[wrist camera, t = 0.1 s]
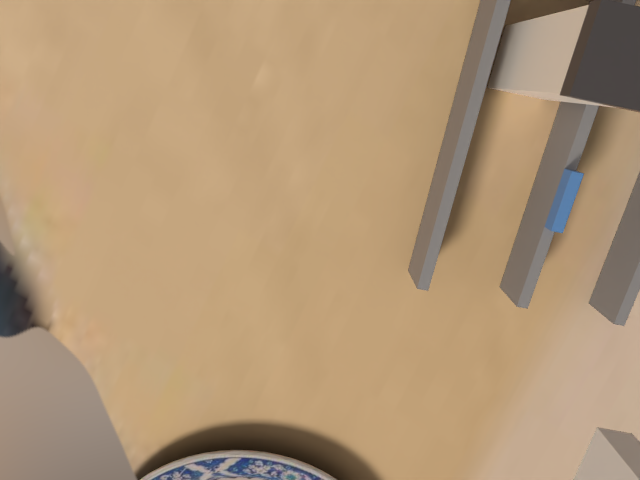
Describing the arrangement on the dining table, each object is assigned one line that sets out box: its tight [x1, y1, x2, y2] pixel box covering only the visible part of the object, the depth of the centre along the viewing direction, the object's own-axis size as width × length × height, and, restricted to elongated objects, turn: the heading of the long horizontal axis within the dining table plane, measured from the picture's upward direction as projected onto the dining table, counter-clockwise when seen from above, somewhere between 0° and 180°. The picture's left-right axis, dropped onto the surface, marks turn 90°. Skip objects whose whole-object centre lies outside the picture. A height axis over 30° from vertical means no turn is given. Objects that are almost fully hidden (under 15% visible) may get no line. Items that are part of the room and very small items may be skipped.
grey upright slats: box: [408, 0, 640, 326], centre depth 34 cm, size 24×15×4 cm, turn 169°
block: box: [487, 0, 640, 112], centre depth 29 cm, size 4×4×12 cm
